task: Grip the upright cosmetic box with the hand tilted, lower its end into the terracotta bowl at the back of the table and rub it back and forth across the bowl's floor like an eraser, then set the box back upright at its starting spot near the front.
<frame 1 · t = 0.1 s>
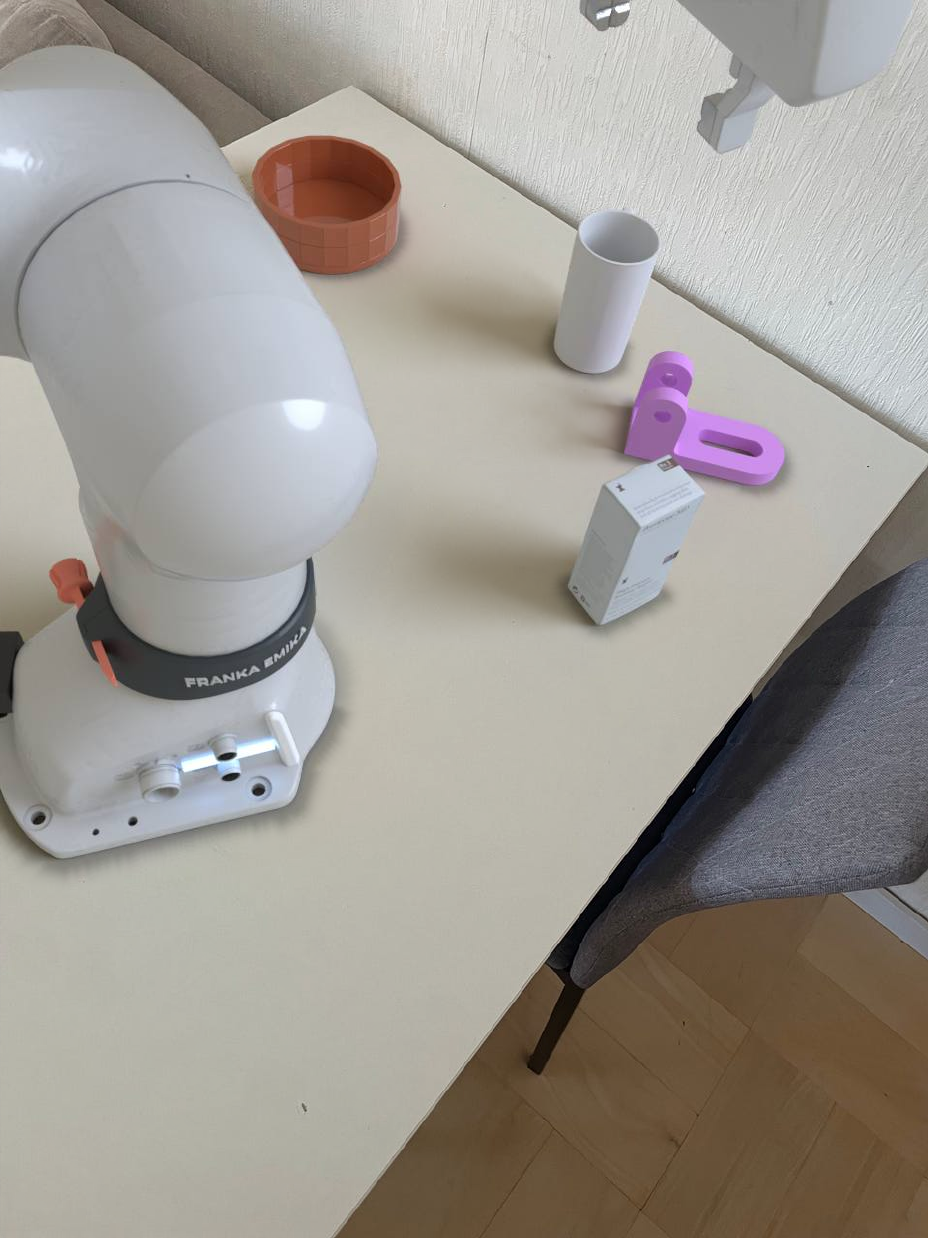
hand: (659, 77, 45), 39 cm above the table, tool pointing down, fingers open, 8 cm apart
bowl: (327, 226, 96), on the table
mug: (590, 339, 92), on the table
bracket: (702, 450, 86), on the table
cosmetic box: (612, 591, 78), on the table
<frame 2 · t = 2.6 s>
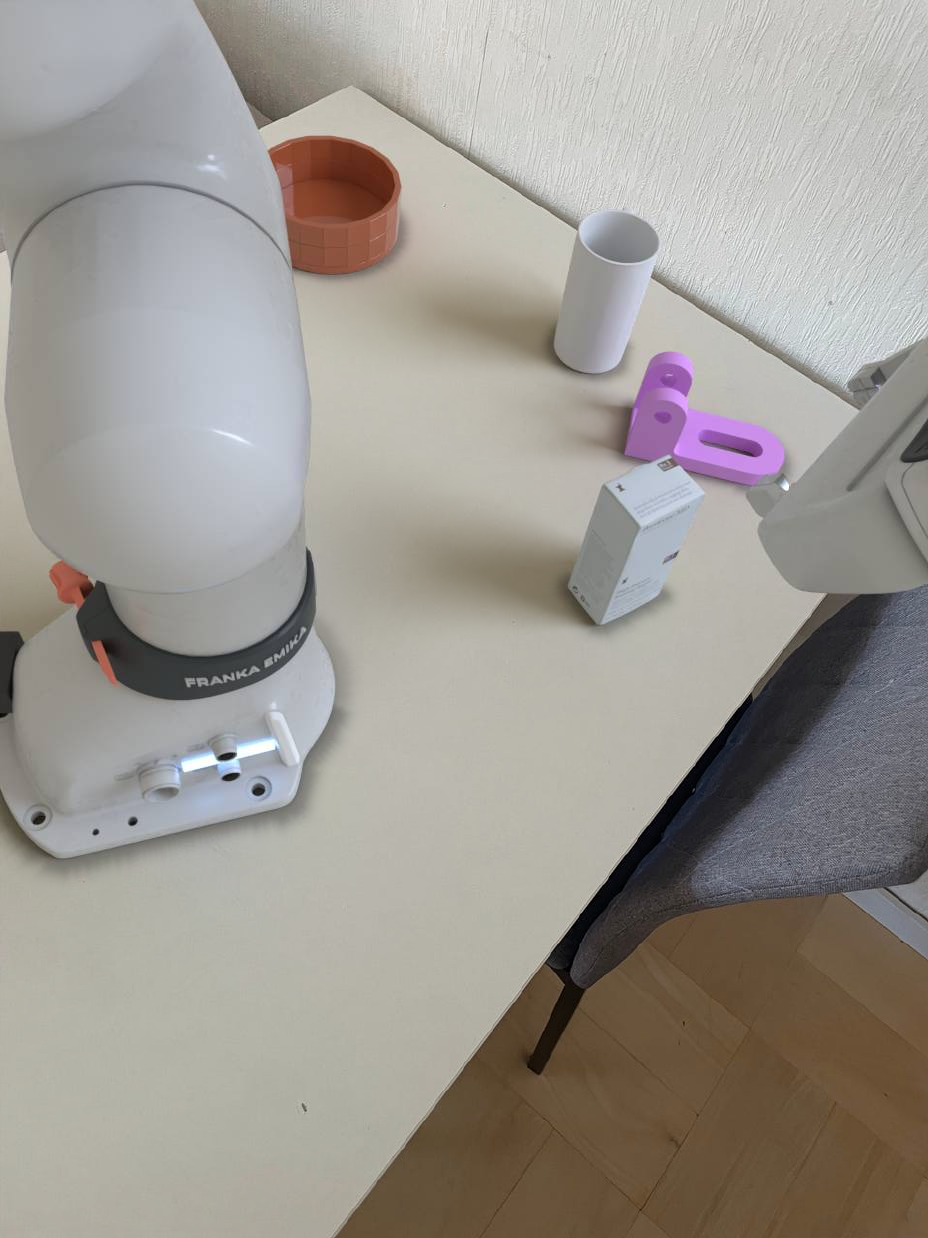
hand: (810, 440, 55), 24 cm above the table, tool tilted 40°, fingers open, 8 cm apart
nothing on the table moved.
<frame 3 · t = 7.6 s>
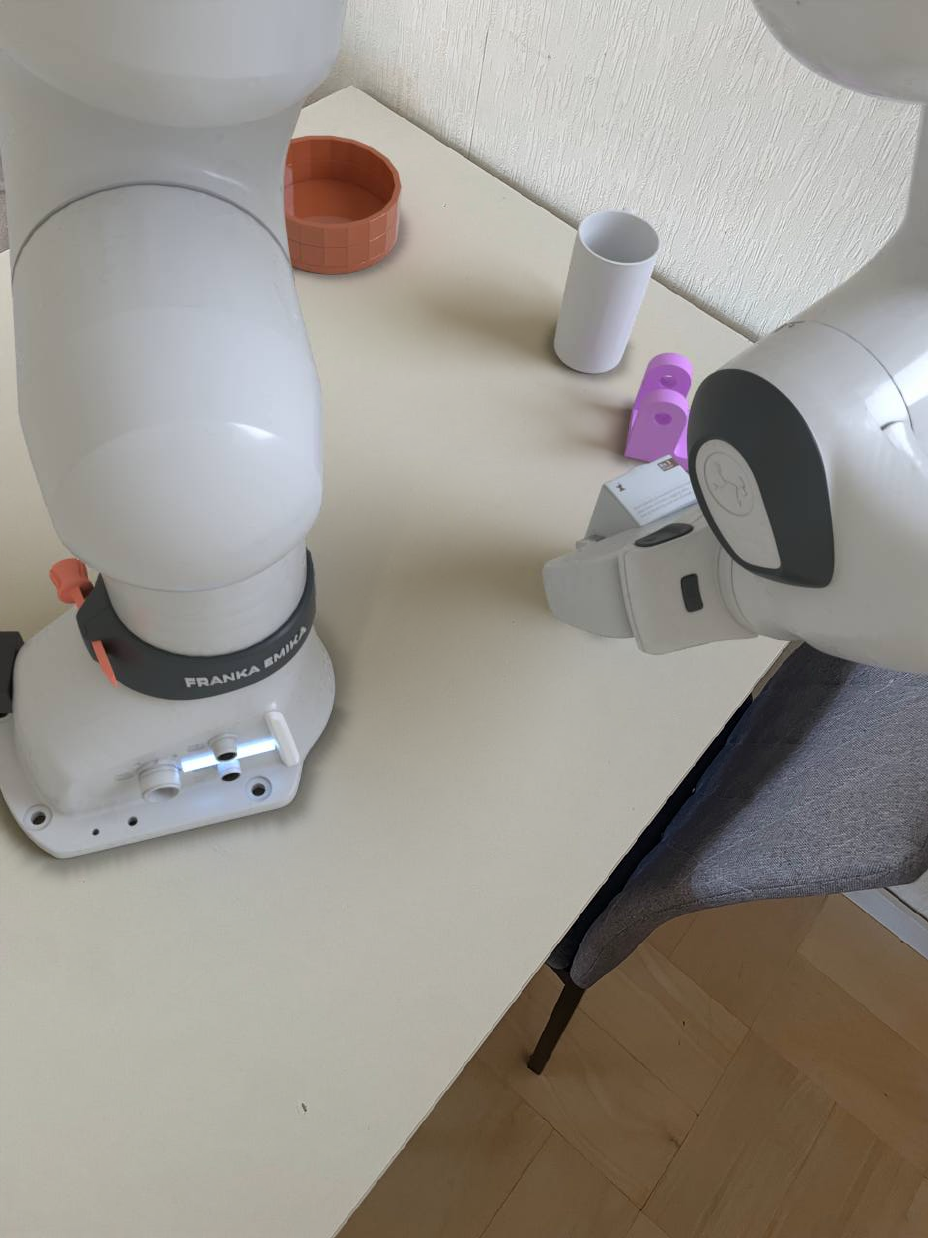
hand: (629, 532, 72), 7 cm above the table, tool tilted 45°, fingers closed on cosmetic box, 6 cm apart
cosmetic box: (612, 591, 78), on the table, touching gripper
everything else where it was.
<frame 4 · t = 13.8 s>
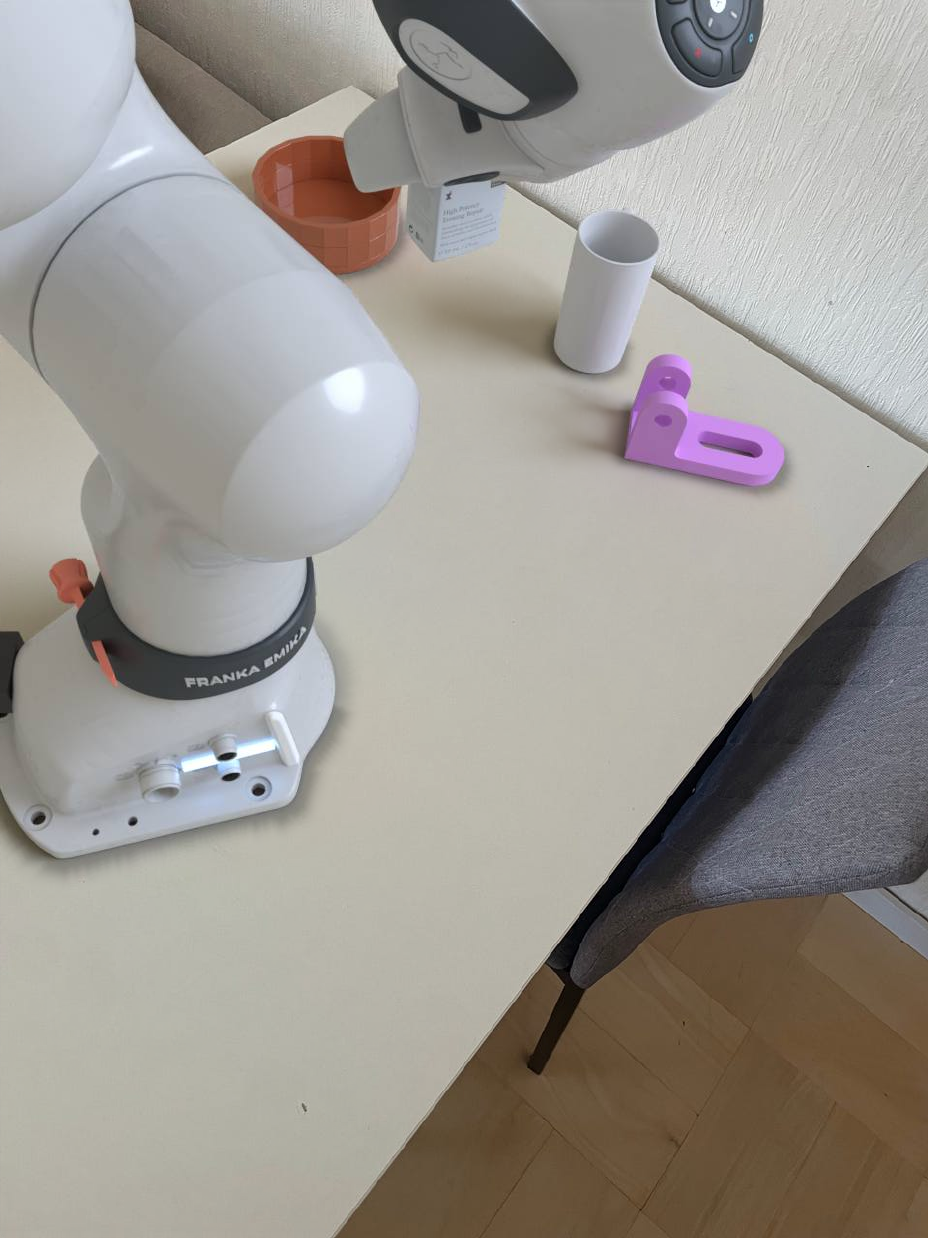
hand: (455, 152, 72), 19 cm above the table, tool tilted 45°, fingers closed on cosmetic box, 6 cm apart
cosmetic box: (451, 238, 78), point 13 cm above the table, touching gripper
everything else where it was.
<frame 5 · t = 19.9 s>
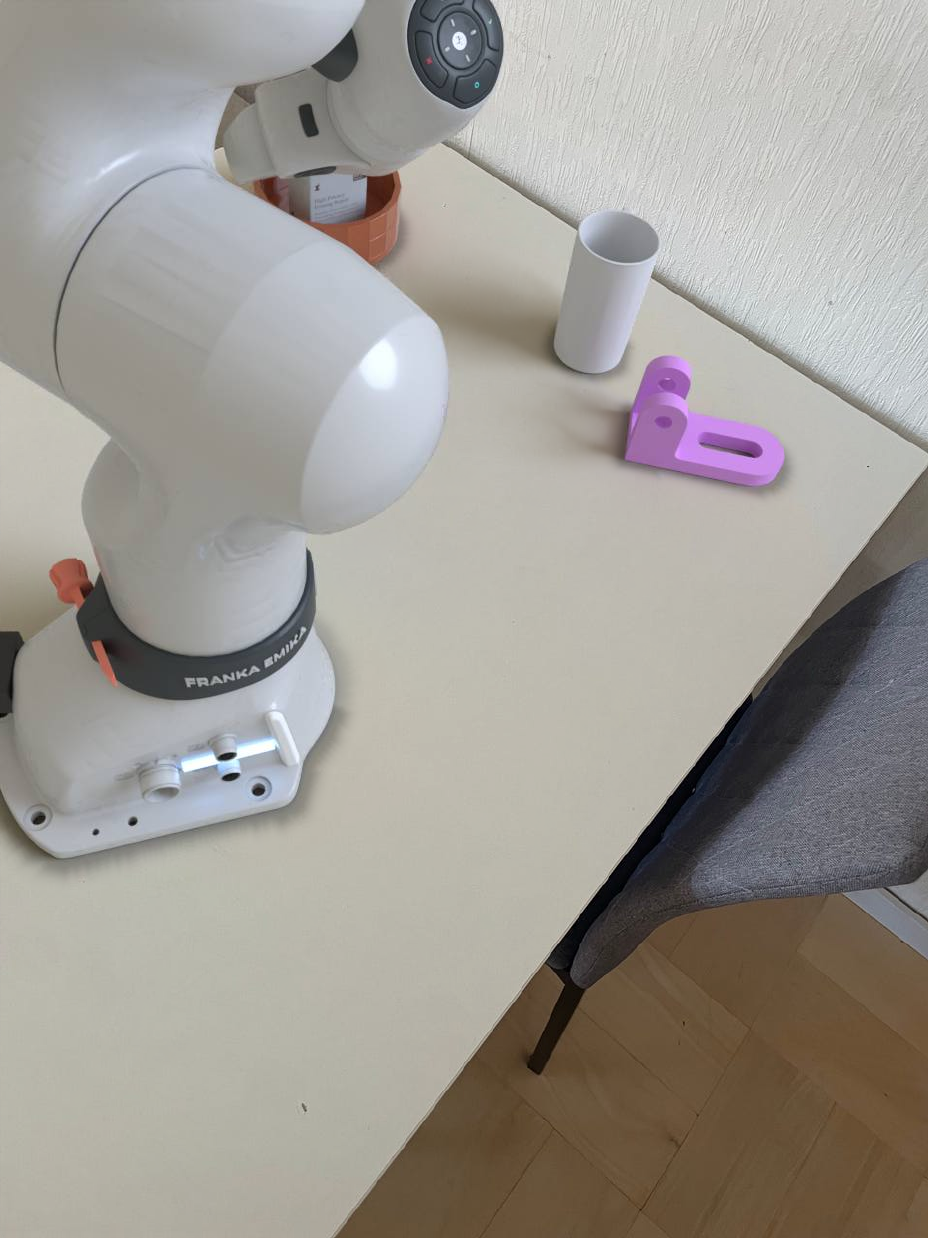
hand: (323, 153, 90), 7 cm above the table, tool tilted 45°, fingers closed on cosmetic box, 6 cm apart
cosmetic box: (328, 222, 95), point 1 cm above the table, touching gripper
everything else where it was.
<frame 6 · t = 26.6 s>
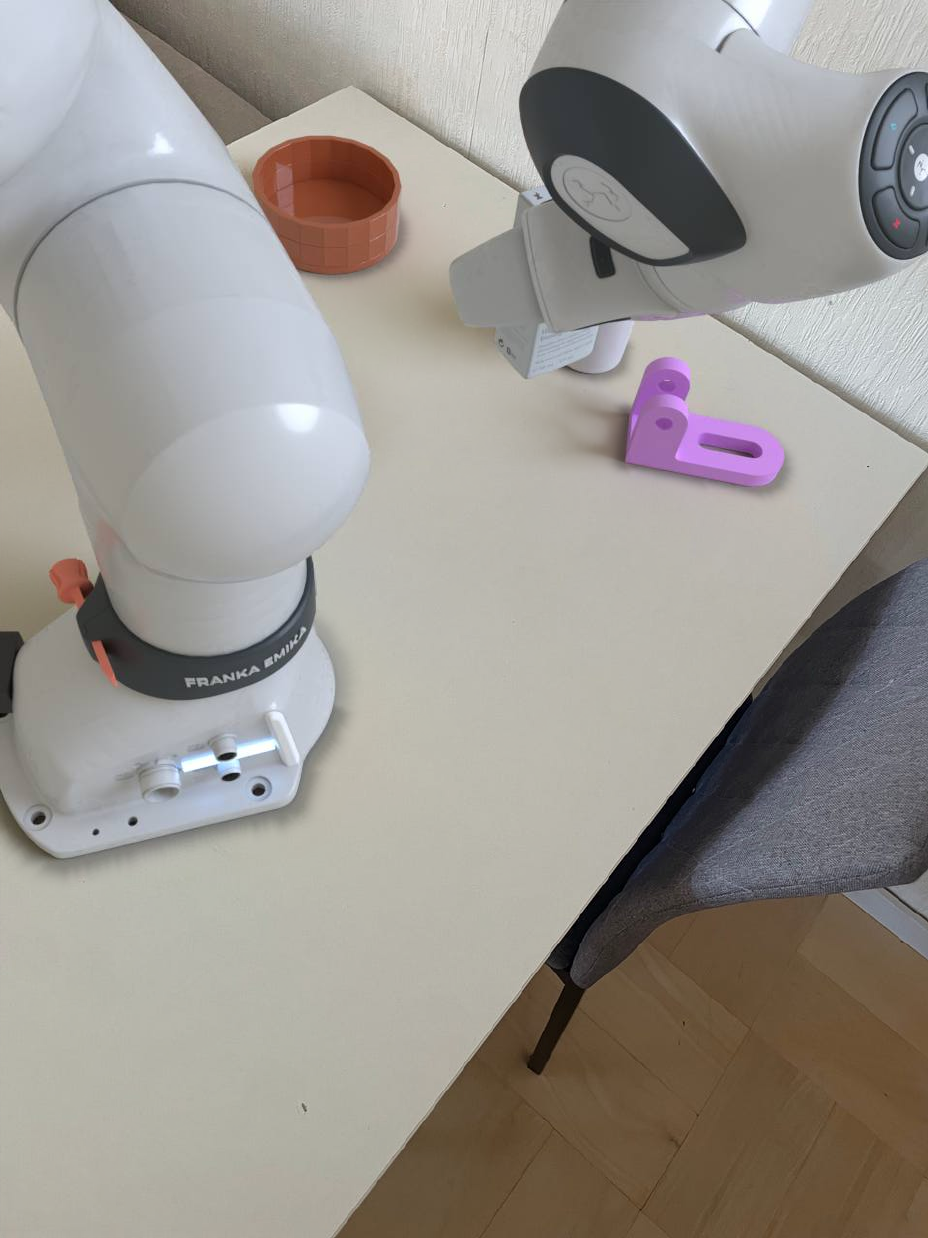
hand: (553, 267, 67), 19 cm above the table, tool tilted 45°, fingers closed on cosmetic box, 6 cm apart
cosmetic box: (542, 350, 72), point 13 cm above the table, touching gripper
everything else where it was.
when the fingers open (6 cm above the table, at t = 32.4 s): cosmetic box stays where it is, on the table.
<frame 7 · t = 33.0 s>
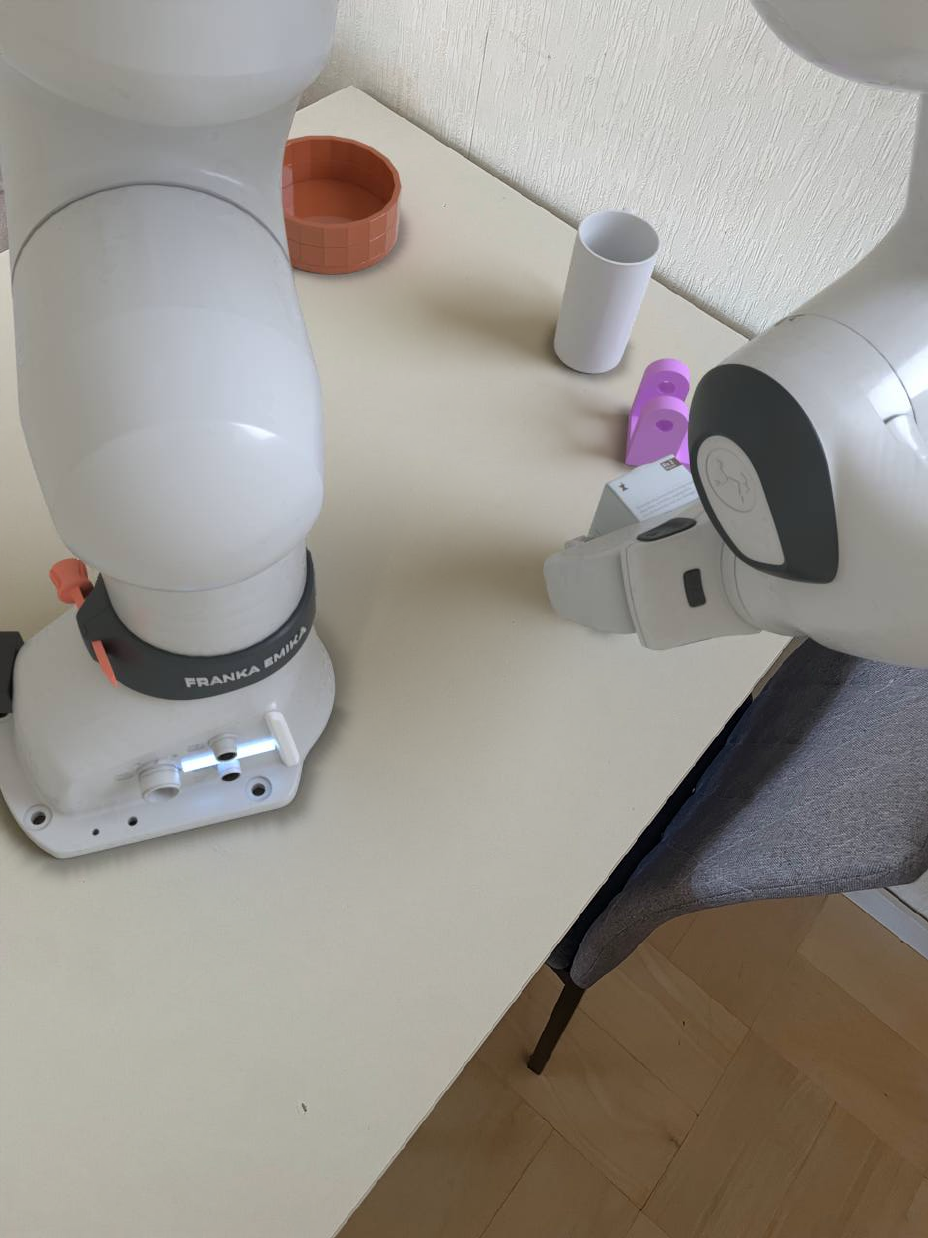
hand: (630, 528, 72), 7 cm above the table, tool tilted 45°, fingers open, 8 cm apart
cosmetic box: (614, 590, 78), on the table
everything else where it was.
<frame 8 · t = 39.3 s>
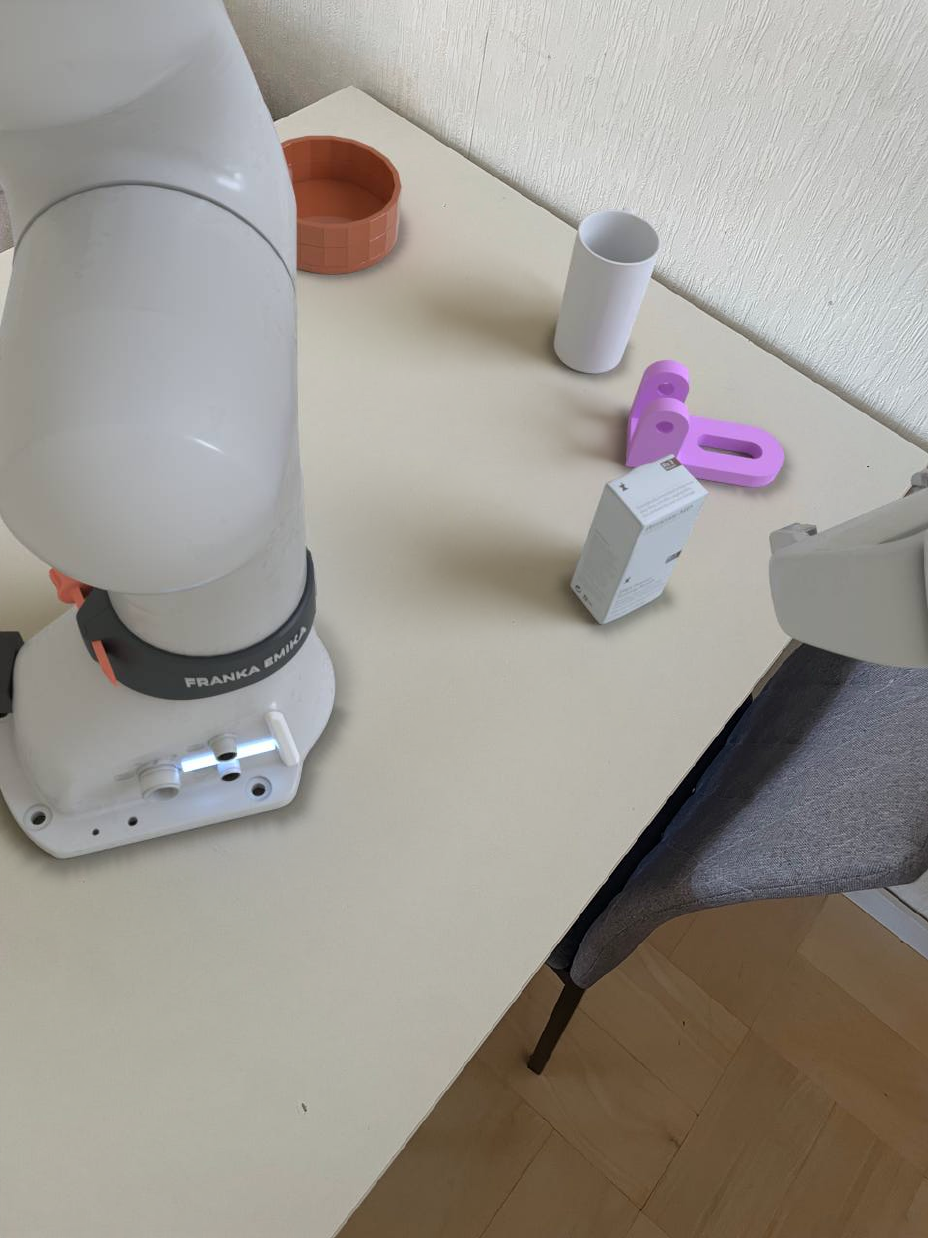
hand: (853, 513, 52), 24 cm above the table, tool tilted 45°, fingers open, 8 cm apart
nothing on the table moved.
at the end: cosmetic box tilted 0°; the gripper is holding nothing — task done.
